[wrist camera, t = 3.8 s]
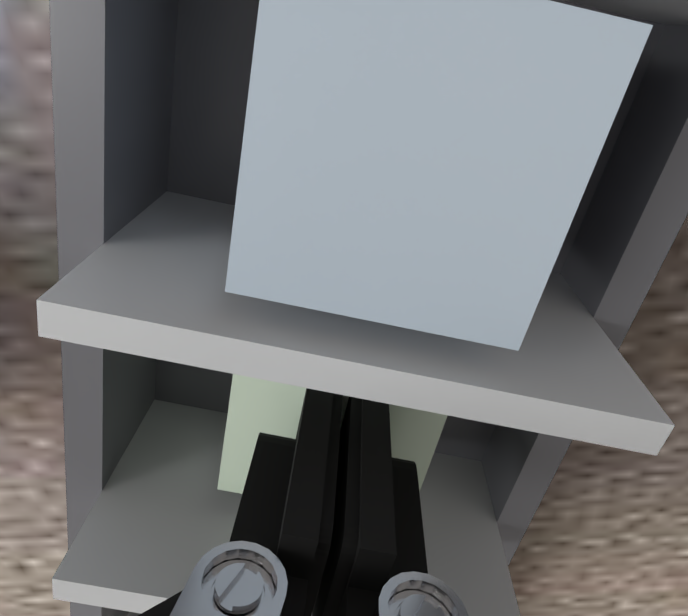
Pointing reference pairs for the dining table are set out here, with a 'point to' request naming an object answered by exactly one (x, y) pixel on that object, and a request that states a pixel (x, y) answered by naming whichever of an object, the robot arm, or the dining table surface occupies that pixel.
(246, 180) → the pale blue block
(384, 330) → the slotted cube rack
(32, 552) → the dining table surface
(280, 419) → the key sage
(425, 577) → the robot arm
